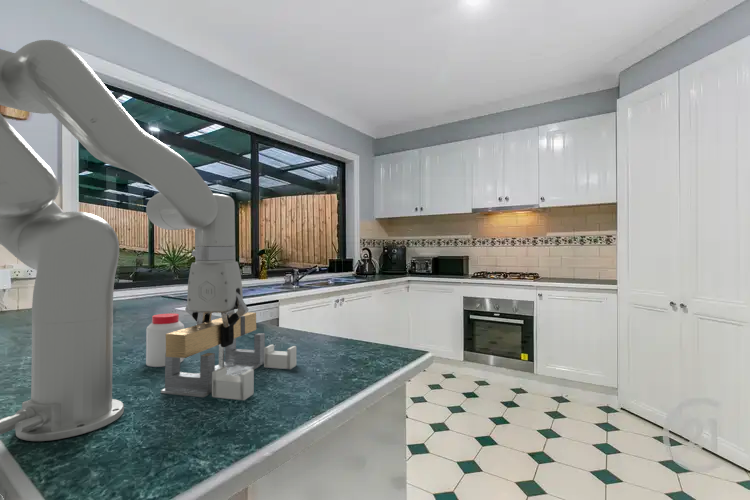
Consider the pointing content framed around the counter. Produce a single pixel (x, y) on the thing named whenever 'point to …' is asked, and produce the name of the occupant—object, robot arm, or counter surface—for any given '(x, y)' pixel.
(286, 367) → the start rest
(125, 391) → the counter surface
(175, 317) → the pill bottle
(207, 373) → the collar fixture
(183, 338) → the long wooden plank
